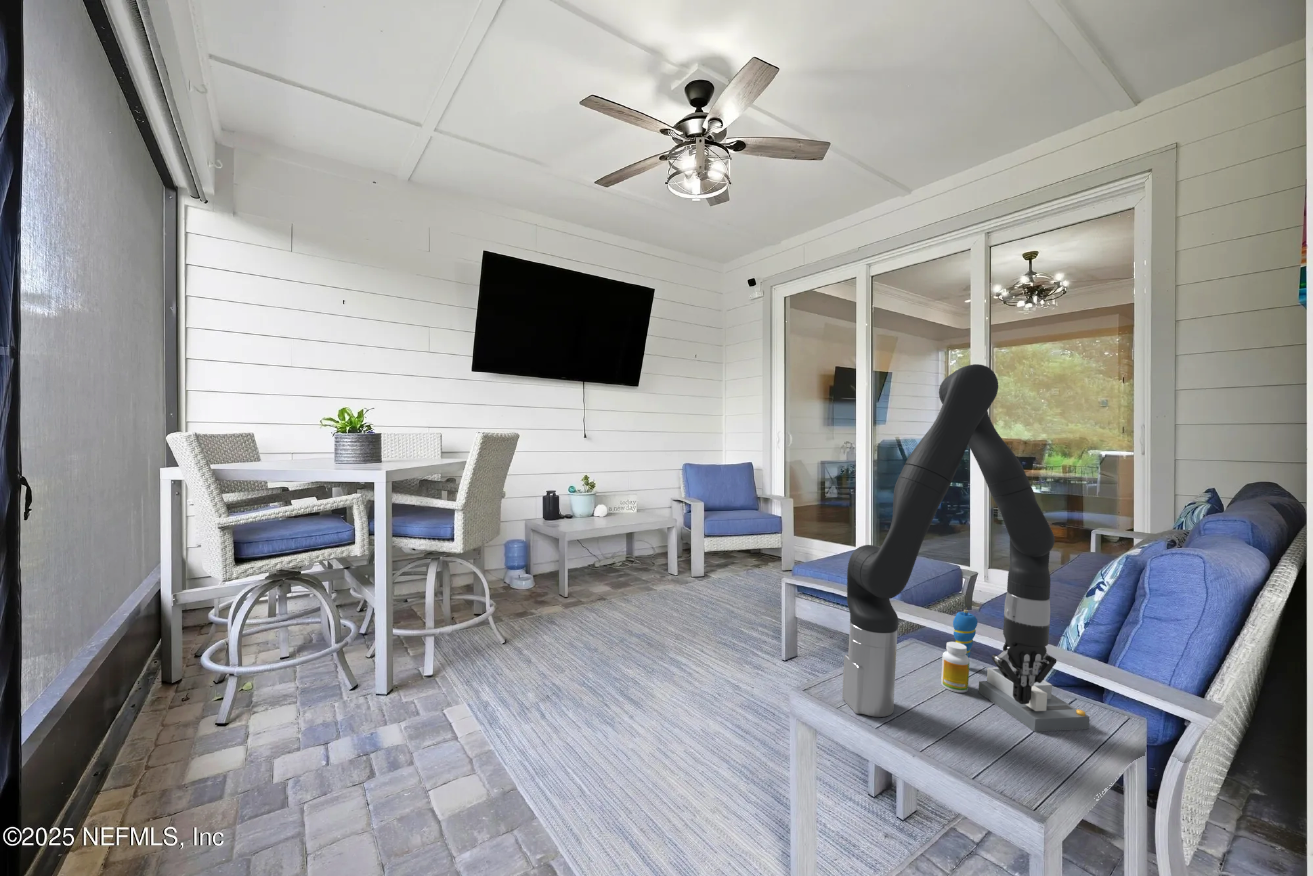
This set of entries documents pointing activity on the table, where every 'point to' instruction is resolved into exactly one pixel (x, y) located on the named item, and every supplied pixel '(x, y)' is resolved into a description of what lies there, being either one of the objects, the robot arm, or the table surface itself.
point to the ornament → (965, 629)
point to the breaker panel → (1050, 720)
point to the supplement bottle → (955, 668)
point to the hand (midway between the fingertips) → (1021, 701)
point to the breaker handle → (1037, 699)
